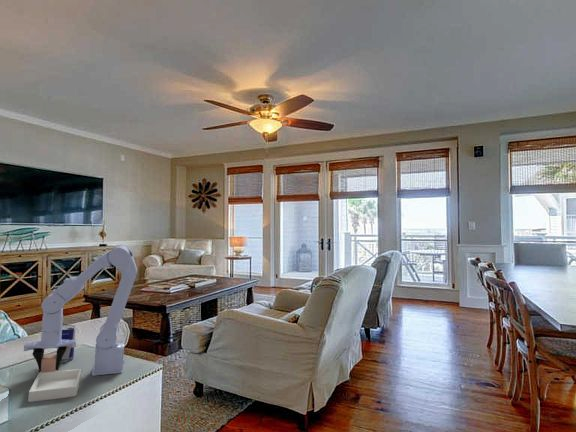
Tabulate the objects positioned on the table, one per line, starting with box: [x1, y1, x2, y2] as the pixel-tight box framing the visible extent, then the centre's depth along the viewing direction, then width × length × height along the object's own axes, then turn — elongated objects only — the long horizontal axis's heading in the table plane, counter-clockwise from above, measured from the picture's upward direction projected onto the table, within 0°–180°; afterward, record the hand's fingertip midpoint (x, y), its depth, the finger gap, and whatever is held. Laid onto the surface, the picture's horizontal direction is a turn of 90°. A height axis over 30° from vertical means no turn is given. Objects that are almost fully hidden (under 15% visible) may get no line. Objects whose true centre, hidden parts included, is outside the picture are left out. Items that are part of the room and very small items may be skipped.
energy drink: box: [56, 324, 77, 363], centre depth 129 cm, size 5×5×12 cm
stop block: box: [40, 353, 58, 373], centre depth 118 cm, size 4×4×6 cm
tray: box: [27, 368, 83, 403], centre depth 109 cm, size 12×12×3 cm
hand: (49, 369), depth 118 cm, fingers closed on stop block, 4 cm apart
